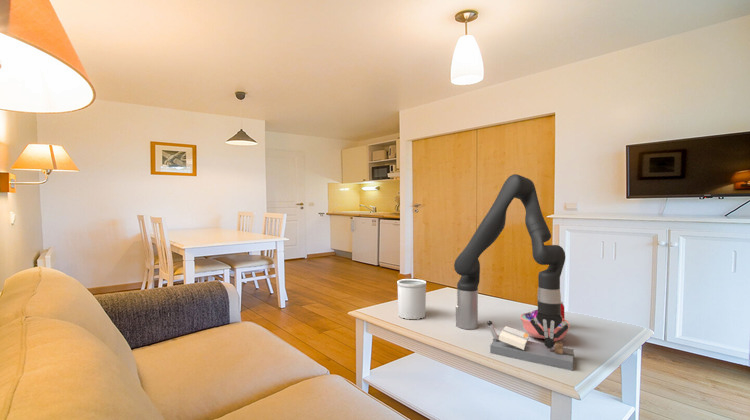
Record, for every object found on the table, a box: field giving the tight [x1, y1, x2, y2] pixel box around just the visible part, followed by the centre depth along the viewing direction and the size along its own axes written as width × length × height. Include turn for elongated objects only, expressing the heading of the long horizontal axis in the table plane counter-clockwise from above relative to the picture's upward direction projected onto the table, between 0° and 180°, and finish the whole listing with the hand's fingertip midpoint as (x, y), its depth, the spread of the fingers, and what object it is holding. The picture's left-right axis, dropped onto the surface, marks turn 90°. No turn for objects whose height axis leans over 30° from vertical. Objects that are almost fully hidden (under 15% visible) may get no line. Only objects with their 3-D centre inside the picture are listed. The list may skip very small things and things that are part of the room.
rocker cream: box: [499, 330, 527, 350], centre depth 128 cm, size 9×5×2 cm, turn 58°
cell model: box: [519, 309, 571, 342], centre depth 144 cm, size 17×20×11 cm
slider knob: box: [554, 340, 564, 354], centre depth 123 cm, size 2×4×3 cm, turn 148°
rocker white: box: [502, 325, 530, 343], centre depth 134 cm, size 9×5×2 cm, turn 58°
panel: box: [489, 334, 575, 372], centre depth 128 cm, size 28×12×3 cm, turn 58°
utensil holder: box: [396, 278, 427, 320], centre depth 175 cm, size 15×15×18 cm
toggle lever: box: [486, 320, 498, 340], centre depth 135 cm, size 2×2×7 cm
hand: (549, 347), depth 125 cm, fingers closed
